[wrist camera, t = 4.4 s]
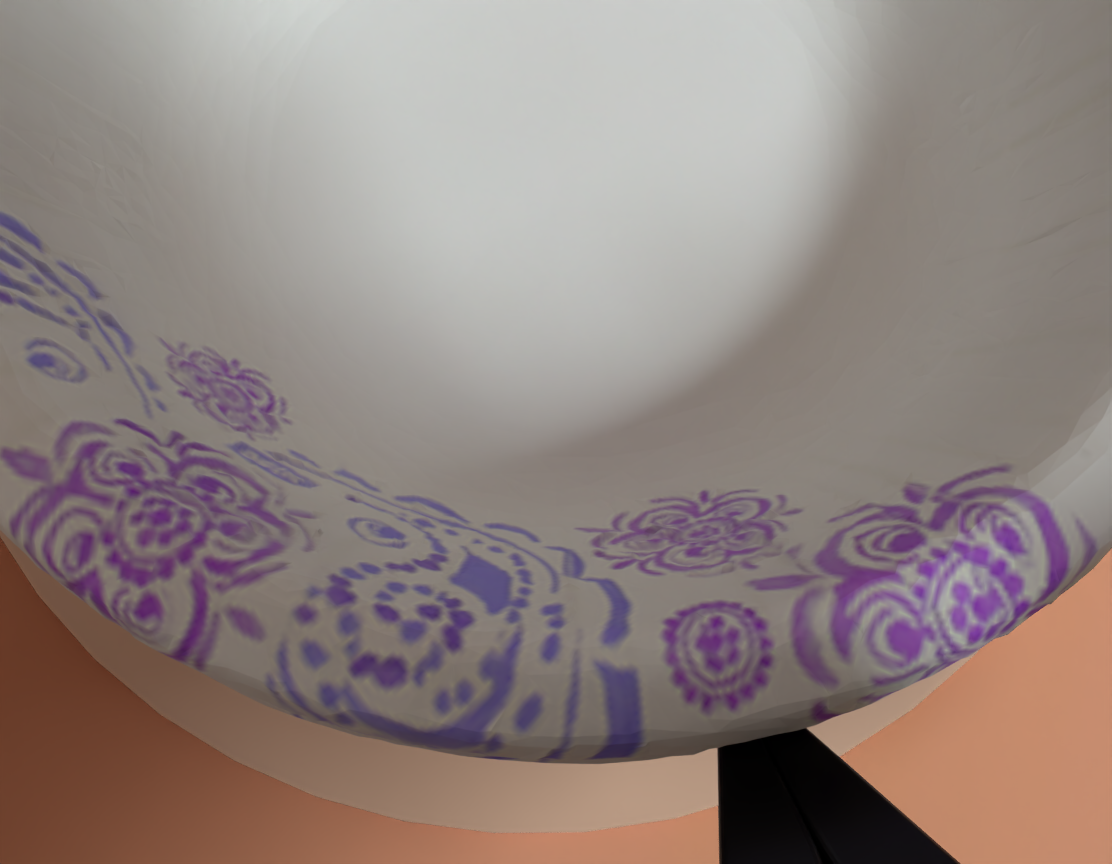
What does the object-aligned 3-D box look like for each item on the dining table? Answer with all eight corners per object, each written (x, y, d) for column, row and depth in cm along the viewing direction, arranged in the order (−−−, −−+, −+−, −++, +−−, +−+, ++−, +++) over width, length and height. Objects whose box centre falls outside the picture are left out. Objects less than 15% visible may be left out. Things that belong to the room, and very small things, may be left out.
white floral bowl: (913, -84, 19) (1172, -589, 11) (1032, 697, 16) (1522, 733, 8) (151, -73, 19) (-120, -591, 11) (92, 737, 15) (-369, 817, 7)
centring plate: (1343, 158, 18) (1353, 153, 18) (607, 1155, 14) (608, 1162, 14) (493, -434, 21) (492, -446, 21) (-322, 247, 17) (-332, 242, 17)
